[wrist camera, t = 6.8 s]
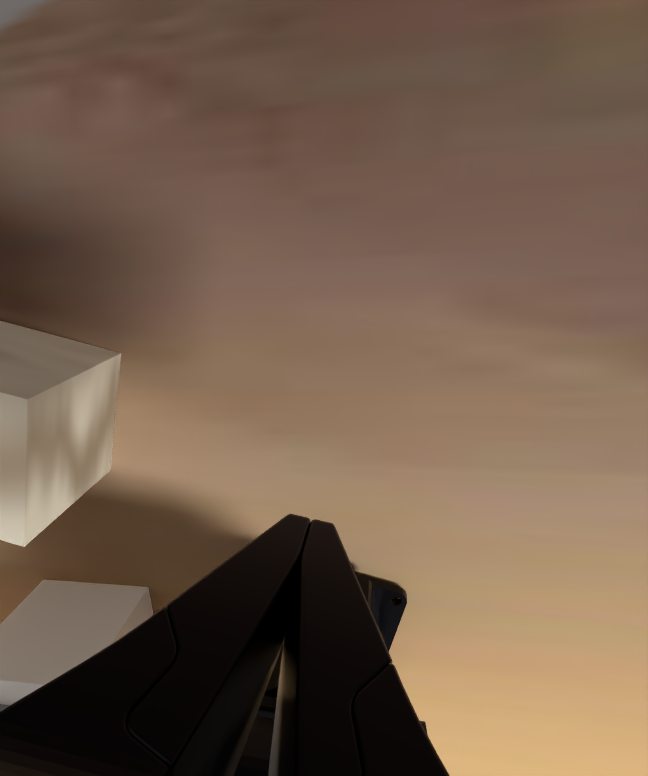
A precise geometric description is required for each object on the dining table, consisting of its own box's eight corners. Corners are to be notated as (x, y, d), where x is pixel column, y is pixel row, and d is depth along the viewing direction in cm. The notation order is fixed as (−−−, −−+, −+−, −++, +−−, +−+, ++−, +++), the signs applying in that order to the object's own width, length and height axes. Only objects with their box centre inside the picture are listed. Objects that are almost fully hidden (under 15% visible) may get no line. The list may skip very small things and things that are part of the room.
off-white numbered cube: (164, 673, 28) (102, 796, 22) (66, 663, 29) (-20, 779, 23) (149, 586, 26) (76, 695, 20) (44, 578, 27) (-56, 681, 21)
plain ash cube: (111, 469, 24) (24, 546, 18) (-5, 436, 24) (-127, 503, 18) (122, 352, 22) (27, 399, 16) (-6, 318, 22) (-143, 352, 16)
